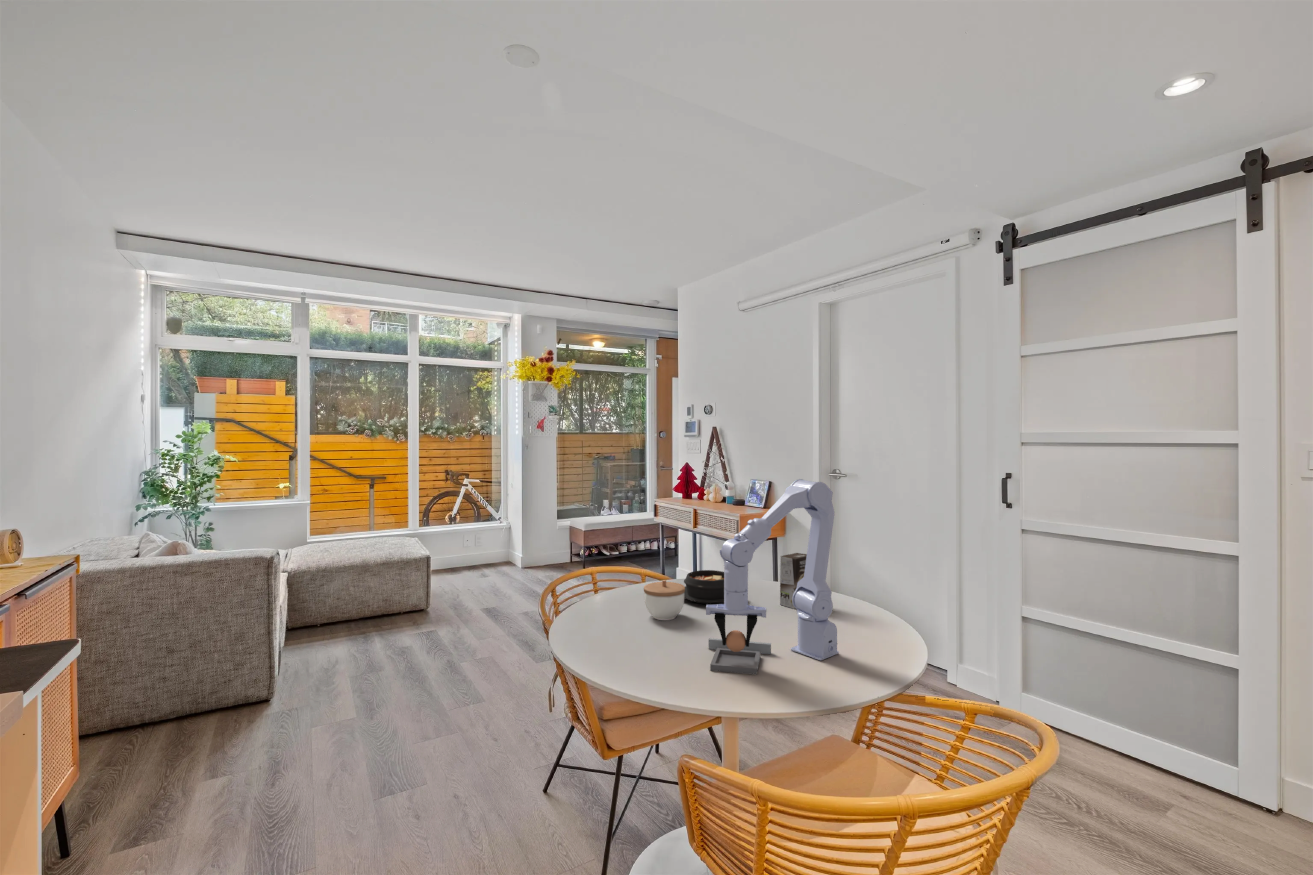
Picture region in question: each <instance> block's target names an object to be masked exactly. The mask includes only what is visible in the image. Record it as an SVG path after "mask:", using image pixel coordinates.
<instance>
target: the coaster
mask: <svg viewBox="0 0 1313 875" xmlns="http://www.w3.org/2000/svg"><path fill="white" fill-rule="evenodd" d="M760 660H761V653H760V652H759V651H747V650H741V651H739V652H734V651H731V650H730V649H724V648H716V650H714V654H713V656H712V659H711V662H710V666H709V670H710V671H715V672H723V673H736V674H746V675H754V676H755V675H758V672H759V667H760V666H759V665H760Z"/></svg>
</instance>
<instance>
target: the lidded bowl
mask: <svg viewBox="0 0 1313 875" xmlns="http://www.w3.org/2000/svg"><path fill="white" fill-rule="evenodd" d="M643 595H644V596H643V600H644V605H645V608H646V610H647V612H648V613H649V614H650V615H651V616H652V618H653V619H655V620H659V621H670V620H675V619H676V618H677V616H678V615H679V614H680V613H681V611H682V610H683V607H684V604H685V603H684V602H685V598H684V596H685V585H684V584H682V583H678V582H674V581H667V580H666V579H663V580H662V581H656V582H650V583H647V584H645V585H644V586H643Z"/></svg>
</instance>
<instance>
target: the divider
mask: <svg viewBox="0 0 1313 875" xmlns="http://www.w3.org/2000/svg"><path fill="white" fill-rule="evenodd" d="M716 648H724V649H729V648H728V647H727V645H723V643H722V638H714V637H713V638H711V637H710V638H708V650H714V651H716ZM743 650H747V651H759V652H760V655H761V654H763V655H772V643H771V642H761V641H750V642H749V647H746V645H745V647H744V649H743Z"/></svg>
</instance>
